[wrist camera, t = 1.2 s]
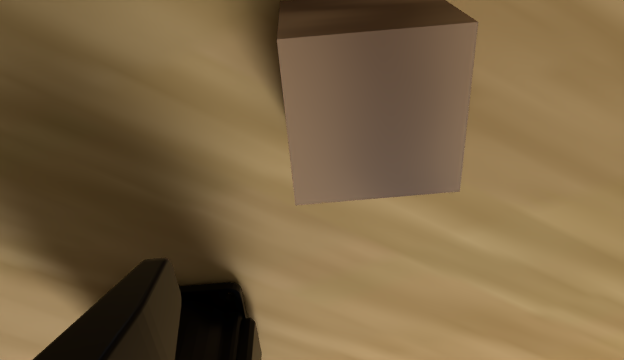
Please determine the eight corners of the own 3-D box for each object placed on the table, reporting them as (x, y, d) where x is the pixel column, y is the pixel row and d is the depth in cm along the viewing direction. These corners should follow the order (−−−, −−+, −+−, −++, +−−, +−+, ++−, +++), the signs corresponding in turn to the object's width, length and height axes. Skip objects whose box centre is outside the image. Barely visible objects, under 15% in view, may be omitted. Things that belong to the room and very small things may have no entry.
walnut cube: (294, 133, 18) (295, 205, 14) (280, 1, 16) (276, 39, 12) (420, 123, 18) (459, 191, 14) (427, -12, 16) (478, 22, 11)
